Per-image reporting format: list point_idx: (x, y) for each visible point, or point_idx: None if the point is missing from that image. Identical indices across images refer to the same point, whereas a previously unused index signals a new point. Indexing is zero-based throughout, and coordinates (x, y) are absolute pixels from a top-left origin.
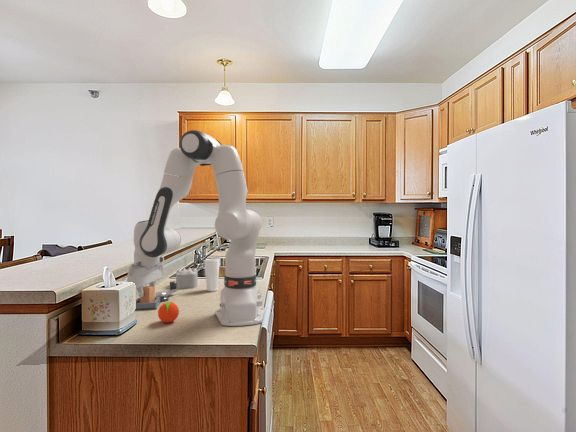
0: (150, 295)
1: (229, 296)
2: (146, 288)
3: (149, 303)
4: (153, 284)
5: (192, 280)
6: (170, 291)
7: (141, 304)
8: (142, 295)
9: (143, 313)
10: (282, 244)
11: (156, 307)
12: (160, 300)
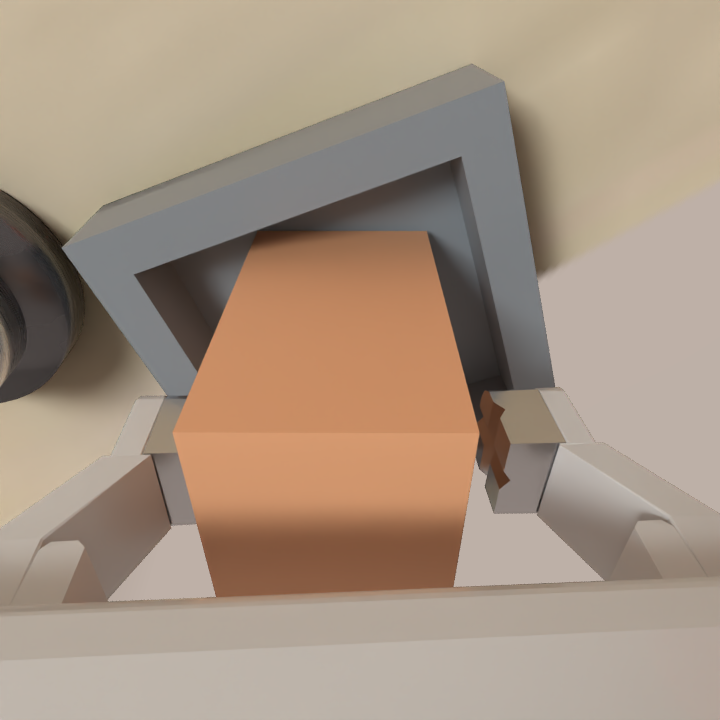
0: (402, 316)
1: None
2: (466, 493)
3: (523, 203)
4: (67, 543)
5: None
6: None
7: (539, 315)
8: (568, 404)
9: (702, 145)
10: None
11: (427, 84)
12: (41, 244)
